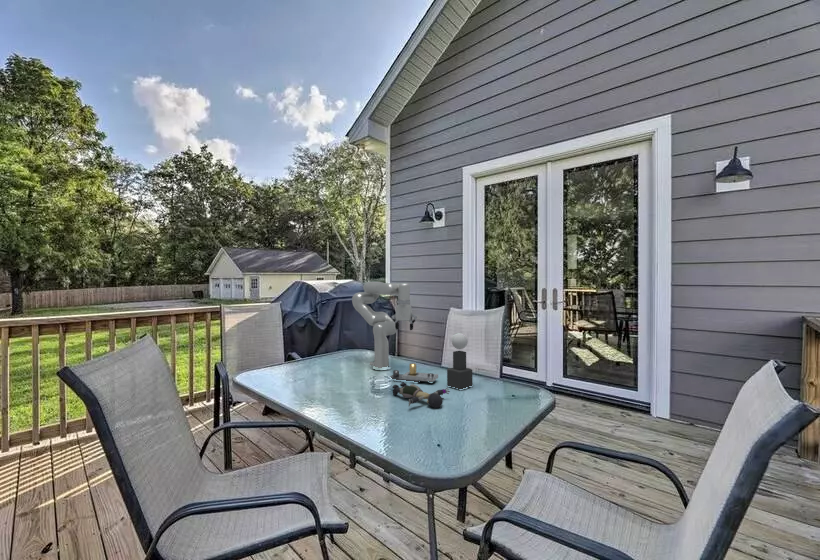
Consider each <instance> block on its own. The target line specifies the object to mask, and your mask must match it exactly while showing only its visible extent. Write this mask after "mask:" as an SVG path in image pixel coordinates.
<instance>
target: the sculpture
mask: <svg viewBox="0 0 820 560" xmlns="http://www.w3.org/2000/svg"><path fill="white" fill-rule="evenodd" d="M451 344H452V347H454V349H456V350H455V351H453V352H452V367H451V368H450V367H449V368H447V369H446V386H447V385H448V386H451V387H455V388H458V389H463V388H466V387H469V386H472V385H474V384H473V383H474V382H473V381H474V380H473V369H472V368H468V367H467V352H466V351H462V349H465V348H466V347H467V345H468V338H467V336H466V335H465V334H464V333H462V332H458V333H455V334H453V336H452V337H451Z"/></svg>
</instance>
